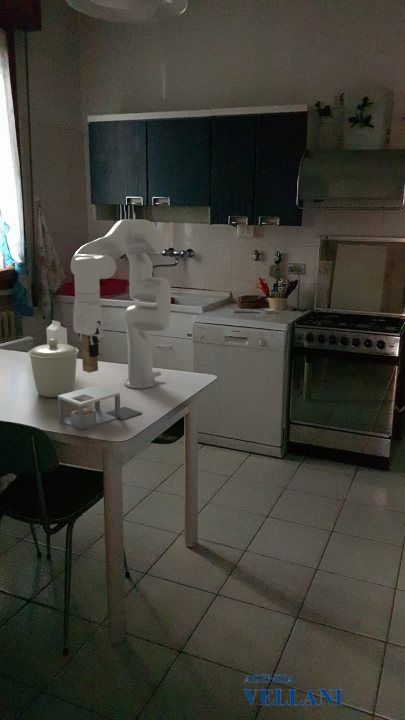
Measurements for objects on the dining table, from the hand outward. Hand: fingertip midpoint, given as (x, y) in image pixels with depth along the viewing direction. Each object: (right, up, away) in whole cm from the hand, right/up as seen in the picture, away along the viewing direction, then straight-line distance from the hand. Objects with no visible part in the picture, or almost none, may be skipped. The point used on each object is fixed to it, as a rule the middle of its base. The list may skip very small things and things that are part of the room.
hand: (90, 354), depth 186 cm
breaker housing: (-2, -21, +8) cm, 23 cm away
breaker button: (-3, -22, +3) cm, 22 cm away
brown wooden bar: (0, -5, +1) cm, 5 cm away
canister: (-19, -15, +33) cm, 41 cm away
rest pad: (+9, -20, +13) cm, 26 cm away
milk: (-25, -7, +62) cm, 67 cm away
